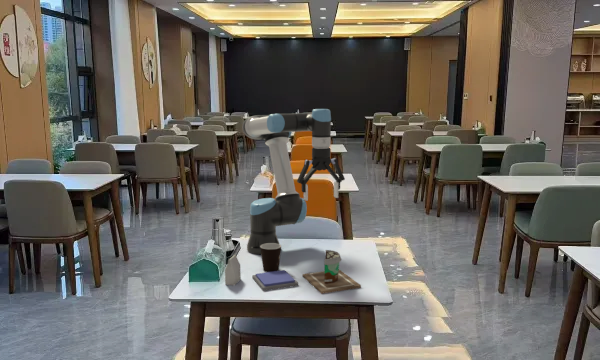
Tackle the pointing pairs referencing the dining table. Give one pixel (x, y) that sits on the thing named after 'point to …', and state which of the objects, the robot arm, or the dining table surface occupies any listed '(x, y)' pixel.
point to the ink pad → (274, 280)
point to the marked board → (340, 285)
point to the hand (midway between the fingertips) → (321, 198)
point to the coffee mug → (270, 256)
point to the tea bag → (232, 271)
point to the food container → (331, 266)
